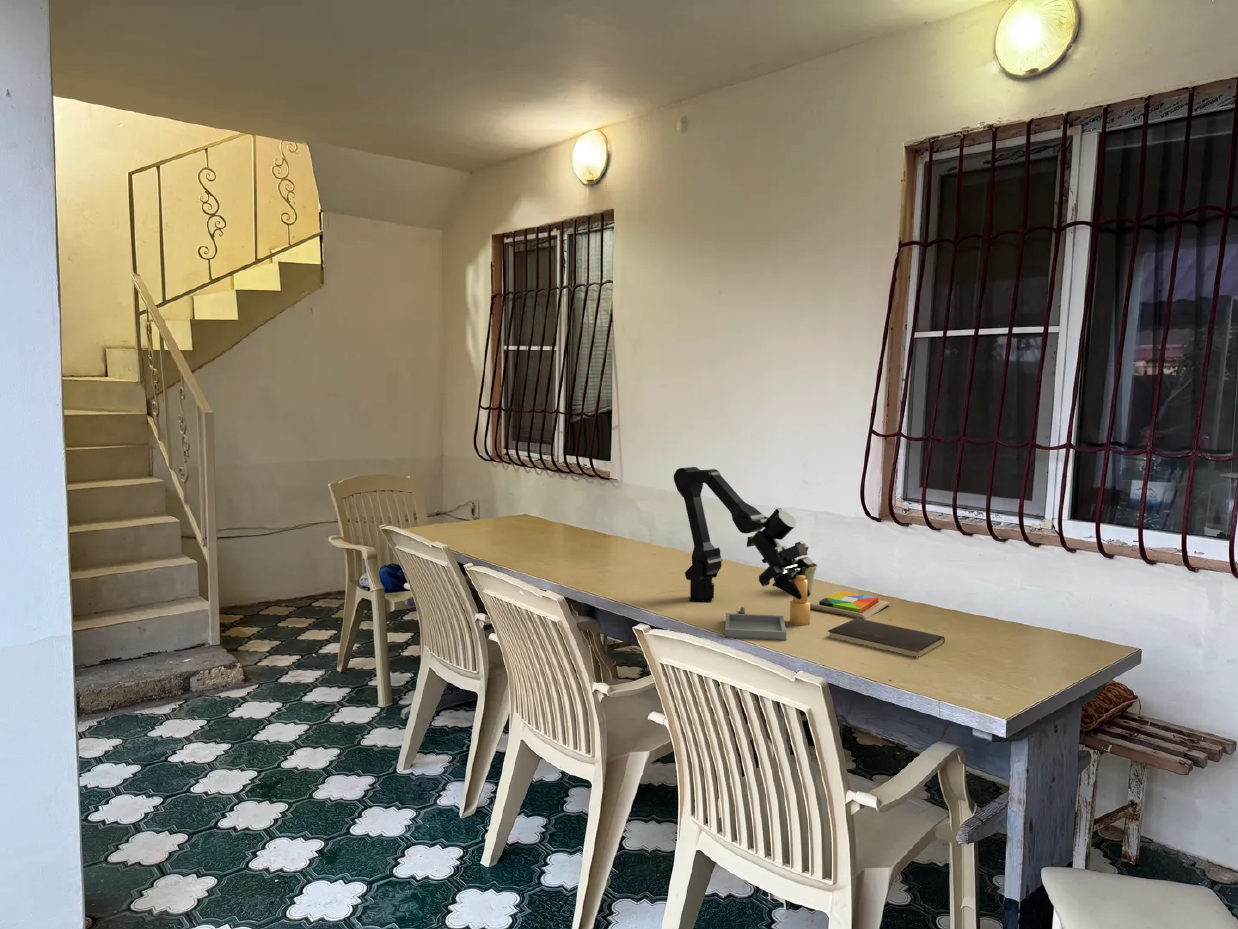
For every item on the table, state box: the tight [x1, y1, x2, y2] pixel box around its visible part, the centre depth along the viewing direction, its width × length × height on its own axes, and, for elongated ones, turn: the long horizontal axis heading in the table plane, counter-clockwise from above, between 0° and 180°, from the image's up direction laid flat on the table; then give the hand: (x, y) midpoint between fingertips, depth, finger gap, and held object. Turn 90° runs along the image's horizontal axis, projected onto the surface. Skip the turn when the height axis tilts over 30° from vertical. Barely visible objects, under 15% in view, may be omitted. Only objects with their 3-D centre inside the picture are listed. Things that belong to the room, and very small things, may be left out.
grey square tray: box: [724, 612, 787, 641], centre depth 209 cm, size 15×15×2 cm
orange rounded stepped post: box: [789, 575, 811, 626], centre depth 215 cm, size 5×5×12 cm
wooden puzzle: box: [810, 590, 891, 620], centre depth 232 cm, size 18×19×4 cm
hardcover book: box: [827, 617, 946, 658], centre depth 201 cm, size 16×23×2 cm
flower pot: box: [792, 560, 819, 594], centre depth 249 cm, size 9×9×9 cm
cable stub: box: [739, 606, 746, 614], centre depth 222 cm, size 1×10×1 cm, turn 172°
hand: (805, 597), depth 214 cm, fingers closed on orange rounded stepped post, 4 cm apart
